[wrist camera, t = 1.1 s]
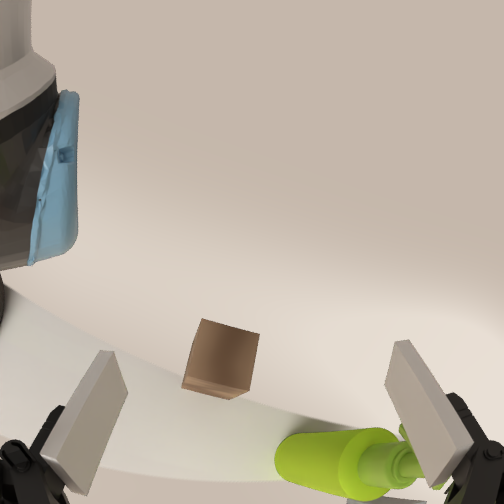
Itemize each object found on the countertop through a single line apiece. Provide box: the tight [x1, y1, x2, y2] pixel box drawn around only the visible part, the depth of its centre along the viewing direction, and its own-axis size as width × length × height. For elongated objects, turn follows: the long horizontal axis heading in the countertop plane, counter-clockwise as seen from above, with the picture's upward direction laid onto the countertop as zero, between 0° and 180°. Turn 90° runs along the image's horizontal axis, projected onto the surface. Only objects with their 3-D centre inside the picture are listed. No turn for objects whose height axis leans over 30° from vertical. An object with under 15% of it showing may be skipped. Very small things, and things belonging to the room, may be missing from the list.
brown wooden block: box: [181, 319, 260, 400], centre depth 28 cm, size 5×5×8 cm
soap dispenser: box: [275, 423, 450, 501], centre depth 20 cm, size 6×7×20 cm
